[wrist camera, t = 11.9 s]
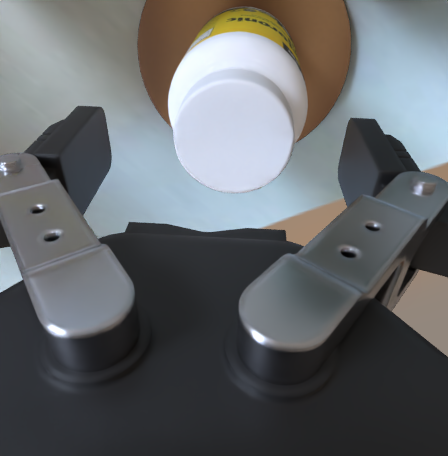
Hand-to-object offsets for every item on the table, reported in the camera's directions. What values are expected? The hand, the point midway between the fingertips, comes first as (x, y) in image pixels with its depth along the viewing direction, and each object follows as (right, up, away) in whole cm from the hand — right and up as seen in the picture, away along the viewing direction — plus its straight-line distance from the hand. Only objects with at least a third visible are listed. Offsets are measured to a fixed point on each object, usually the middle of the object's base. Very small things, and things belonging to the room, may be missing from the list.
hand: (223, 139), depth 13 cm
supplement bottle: (+1, +6, +8) cm, 10 cm away
